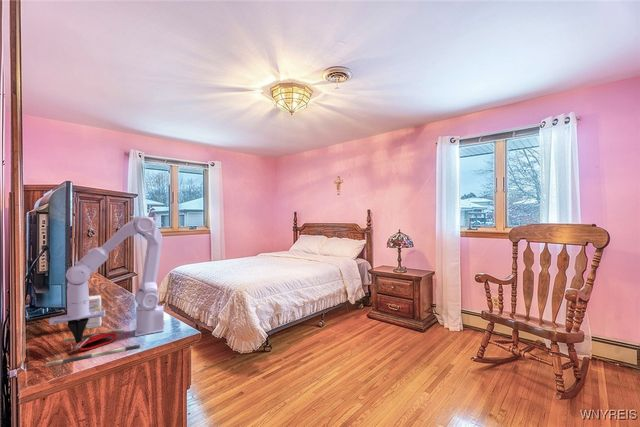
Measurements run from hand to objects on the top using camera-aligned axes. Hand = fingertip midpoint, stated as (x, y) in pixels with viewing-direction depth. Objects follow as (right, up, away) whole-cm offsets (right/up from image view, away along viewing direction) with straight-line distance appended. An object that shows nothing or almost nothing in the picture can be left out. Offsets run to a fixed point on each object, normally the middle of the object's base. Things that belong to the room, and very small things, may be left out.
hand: (78, 341), depth 101 cm
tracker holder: (+3, -3, +2) cm, 5 cm away
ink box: (-12, -3, +20) cm, 23 cm away
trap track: (+4, -2, +2) cm, 5 cm away
